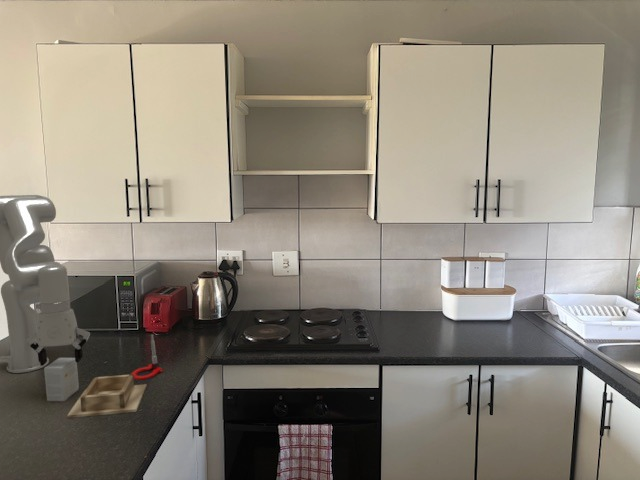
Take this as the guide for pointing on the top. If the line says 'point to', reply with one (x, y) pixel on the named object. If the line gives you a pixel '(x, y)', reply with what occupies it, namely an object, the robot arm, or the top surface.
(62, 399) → the small box
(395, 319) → the top surface
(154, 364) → the tow hook
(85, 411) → the well
